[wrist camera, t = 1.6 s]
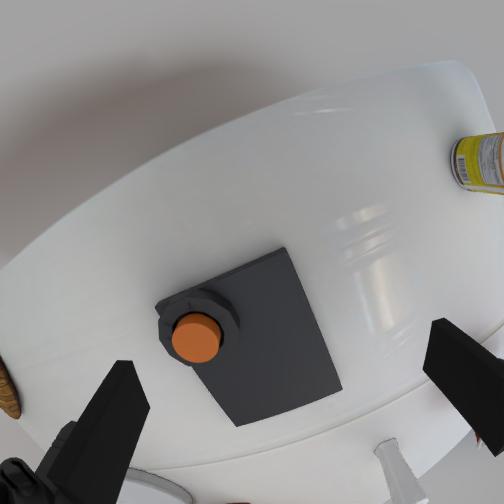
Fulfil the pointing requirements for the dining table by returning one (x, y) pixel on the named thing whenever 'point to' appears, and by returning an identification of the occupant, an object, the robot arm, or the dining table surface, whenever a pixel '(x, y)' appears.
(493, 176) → the supplement bottle
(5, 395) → the croissant
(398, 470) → the perfume bottle
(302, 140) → the dining table surface
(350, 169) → the dining table surface
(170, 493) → the lid
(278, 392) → the scale
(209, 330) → the button
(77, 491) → the robot arm
